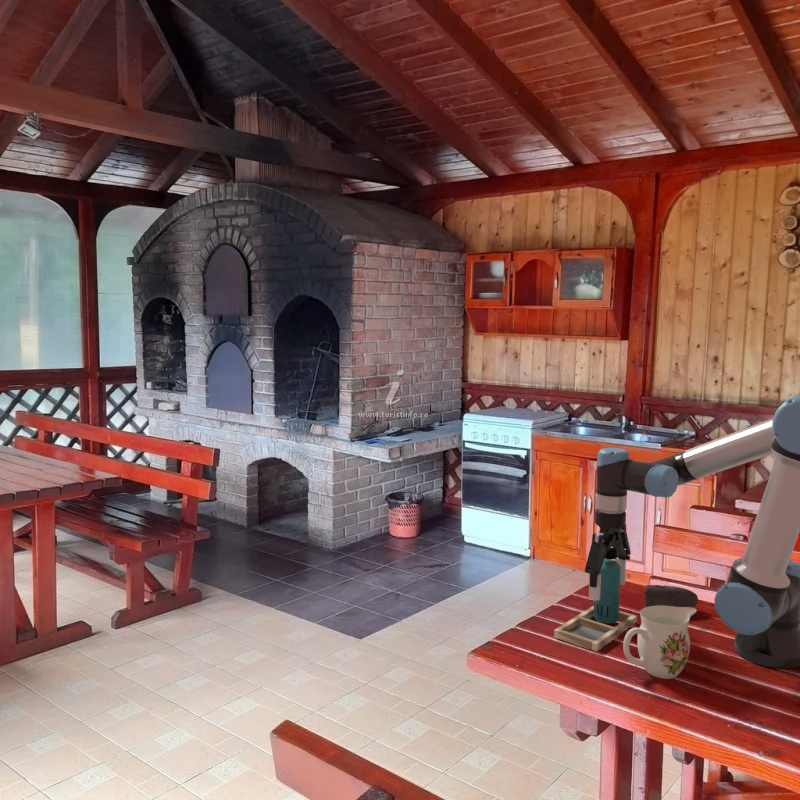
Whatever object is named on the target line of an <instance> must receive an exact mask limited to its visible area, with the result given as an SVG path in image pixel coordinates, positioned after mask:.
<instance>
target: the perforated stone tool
mask: <svg viewBox="0 0 800 800" xmlns="http://www.w3.org/2000/svg"><path fill="white" fill-rule="evenodd" d="M643 594H644V602H645V603H644V605H645V608H646V607H650V606H673V607H692V608H695V607H696V606H697V605H698V604H699V597H698V595H697V593H695V592H694V591H692V590H689V589H687V588H685V587H684V588H683V587H679V586H674V585H666V584H665V585H659V584H646V585H645V590H644V593H643Z"/></svg>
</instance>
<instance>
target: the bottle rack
mask: <svg viewBox="0 0 800 800" xmlns="http://www.w3.org/2000/svg"><path fill="white" fill-rule="evenodd" d="M593 609H594V605H592V606H591V607H588V608H587V609H585V610H584V611H582V612H580V613H579V614H577V615H576V616H574V617H573V618H571V619H570V620H567V621H566V622H565V623H563V624H562V625H560V626H558V627H556V628H555V629H553V633H554V634H553V638H554V639H557V640H559V639H560V641H562V640H563V642H564V643H565V642H566V643H569V644H571V645H574V646H578V647H580V648H583V647H584V648H583V649H586V648H587V649H586V650H589V649H591V650H590V651H592V650H595V651H597V650H599V649H600V650H602V649H603V648H605V647H604V646H605V645H606V646H607V645H609V644H611V641H612V640H613V641H614V640H616V639H617V638H618V637H620V636H621V635H623V634H624V633H625V632H626V631H625V630H627V629H628V628H630V627H631V626H632V625H634V624H635V623H636V622H637V623H638V615H634V614H632V613H628V612H625V611H621V610H619V619H618V621H620V620H623V621H620V623H618V624H617V625H615V626H612V625H608V624H607V623H603V622H599V621H597V620H596V621H595V620H593V619H592V618H593V616H594V612H593ZM591 617H592V618H591ZM589 618H590V619H589ZM635 625H636V624H635ZM635 625H634V626H635ZM632 627H633V626H632ZM632 627H631V628H632ZM631 628H630V629H631ZM628 630H629V629H628ZM628 630H627V631H628ZM624 631H625V632H624ZM623 632H624V633H623ZM622 633H623V634H622ZM620 634H621V635H620ZM619 635H620V636H619ZM615 638H616V639H615ZM613 641H612V642H613ZM608 643H609V644H608ZM602 647H603V648H602ZM601 648H602V649H601ZM600 650H599V651H600Z"/></svg>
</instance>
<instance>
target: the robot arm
mask: <svg viewBox="0 0 800 800" xmlns="http://www.w3.org/2000/svg"><path fill="white" fill-rule="evenodd" d="M771 455H774V456H775V459H774V462H773V465H772V468H771V472H770V474H769V478H768V481H767V483H766V486H765V490H764V492H763V495H762V498H761V500H760V501H761V502H760V504H759V508H758V510H757V514H756V516H755V519H754V522H753V525H752V528H751V532H750V534H749V538H748V541H747V543H746V546H745V550H744V552H743V555H742V556H741V557H739V558H737V559H734V560H733V562H732V565H731V567H730V570H729V574H728V576H727V580H726V582H725V583H724V584H722V585H721V586H720V587H719V588H718V590H717V591H716V594H715V596H714V599H713V600H714V609H715V612H716V613H717V614H718V616H719V618H720V621H721V622H723V624H724V625H725V626H727V628H729V629H730V630H731V631H733V632H736V635H735V637H734V643H733V645H734V650H735V652H736V653H737V654H738V655H739V656H740V657H742V658H744V659H745V660H748V661H749V662H752V663H755V664H757V665H761V666H765V667H769V668H773V669H774V668H775V669H795V668H796V669H797V668H800V563H799V562H797V561H795V560H791V557H792V555H793V551H794V548H795V546H796V542H797V540H798V538H799V533H800V393H799V394H795V395H793V396H791V397H790V398H788V399H787V400H785V401H784V402H783V403H782V404H780V405H779V406H778V408H777V409H776V411H775V412H774V415H773V417H772V418H769V419H767V420H764V421H761V422H759V423H756V424H753V425H751V426H748V427H745V428H742V429H740V430H737V431H735V432H732V433H729V434H726V435H723V436H721V437H719V438H716V439H712V440H710V441H706V442H705V443H702V444H699V445H696V446H694V447H692V448H689V449H687V450H684V451H680V452H678V453H675V454H672V455H669V456H667V457H663V458H660V459H657V460H654V461H650V462H645V461H639V460H635V459H630V453H629V451H628V450H627V449H624V448H620V447H604V448H601V449H600V450H599V451H598V452H597V459H596V492H595V494H594V497H595V508H596V509H595V510H594V523H595V525H596V526H598V527H599V531H598V533H597V532H593V534H592V538H591V544H590V547H589V552H588V557H587V560H586V563H585V568H584V572H585V573H586V574H589V577H588V578H589V581H588V598H589V599H593V600H594V599H595V600H598V601H599V600H600V590H601V574H599V573H600V570H601V567H602V565H603V562H604V559H605V557H606V554H607V552H608V551H610V549H611V548H614V549H616V550H617V558H616V559H614V561H616V562H617V563H618V564H619V565H620V566H621V572H620V585H622V586H625V585H626V568H627V567H626V566H627V565H626V564H627V561H630V560H631V556H630V555H631V553H632V552H631V547H630V542H629V537H628V532H627V512H626V511H627V508H628V506H627V505H628V491H630V492H634V493H639V494H644V495H648V496H651V497H654V498H655V497H656V498H666V499H667V498H670V497H673V495H674V493H676V491H677V489H678V487H679V486H682V485H685V484H688V483H690V482H694V481H696V480H698V479H702V478H704V477H707V476H710V475H714V474H717V473H719V472H723V471H725V470H729V469H732V468H734V467H738V466H741V465H744V464H747V463H750V462H753V461H756V460H759V459H762V458H765V457H768V456H771Z"/></svg>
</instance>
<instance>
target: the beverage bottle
mask: <svg viewBox="0 0 800 800" xmlns="http://www.w3.org/2000/svg"><path fill="white" fill-rule="evenodd" d="M616 558H618V557H617V550H616V549H614V548H613V547H611V549H610V551H608V552H607V554H606V557H605V559H604V562H603V565H602V567H601V570H600V573H599V574H601V590H600V600H599V601H598V600H595V599H593V606H594V609H593V612H594V620H596V622H599V623H602V624H615V623H617V622H618V621H619V620H618V619H619V611H620V606H621V605H620V592H621V591H620V589H621V586H620V585H621V584H620V572H621V566H620V565H619V564H618V563H617V562H616V561H615V559H616Z"/></svg>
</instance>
